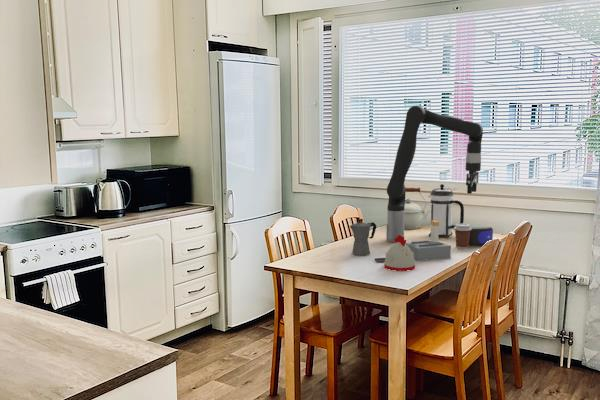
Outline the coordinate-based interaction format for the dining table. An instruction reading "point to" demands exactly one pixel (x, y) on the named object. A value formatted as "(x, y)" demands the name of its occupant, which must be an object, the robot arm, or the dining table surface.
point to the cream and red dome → (399, 256)
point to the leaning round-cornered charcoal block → (480, 236)
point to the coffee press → (444, 210)
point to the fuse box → (429, 250)
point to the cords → (380, 259)
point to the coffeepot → (362, 237)
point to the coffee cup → (462, 235)
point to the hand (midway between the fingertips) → (471, 192)
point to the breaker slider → (434, 232)
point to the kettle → (413, 212)
